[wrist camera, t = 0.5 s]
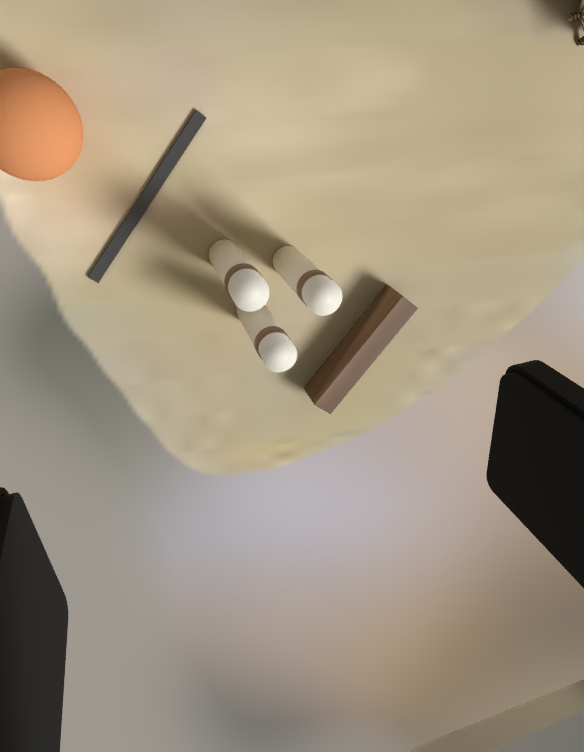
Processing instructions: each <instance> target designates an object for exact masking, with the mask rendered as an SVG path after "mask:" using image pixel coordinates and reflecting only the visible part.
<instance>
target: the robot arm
mask: <svg viewBox="0 0 584 752" xmlns="http://www.w3.org/2000/svg"><path fill="white" fill-rule="evenodd" d="M487 481H488V484H489V486H490V488H491V489H492V491H493V492H494V493H495V494H496V495H497V496H498V497H499V499H501V501H502V502H503V503H504V504H505V505H506V506H507V507H508V508H509V509H510V510H511V511H512V512H513V513H514V514H515V515H516V517H517V518H518V519H519V520H520V521H521V522H522V523H523V524H524V525H525V526H526V527H527V528H528V529H529V530H530V532H531V533H532V534H533V535H534V536H535V537H536V538H537V539H538V540H539V541H540V542H541V543H542V544H543V545H544V546H545V547H546V548H547V550H548V551H549V552H550V553H551V554H552V555H553V556H554V557H555V558H556V559H557V560H558V561H559V562H560V563H561V564H562V566H564V568H565V569H566V570H567V571H568V572H569V573H570V574H571V575H572V576H573V577H574V578H575V579H576V580H577V581H578V583H579V584H580V585H581V586H582V587H583V588H584V388H582V387H581V386H579V385H577V384H576V383H574V382H573V381H571V380H570V379H568V378H567V377H565V376H564V375H562V374H560V373H559V372H557V371H556V370H554V369H553V368H551V367H549V366H548V365H546V364H545V363H543V362H541V361H539V360H533V361H529V362H525V363H521V364H517V365H513V366H510V367H509V368H508V369H507V371H506V374H505V375H503V376H502V378H501V380H500V385H499V392H498V399H497V405H496V413H495V419H494V426H493V433H492V440H491V447H490V453H489V460H488V467H487ZM67 628H68V606H67V601H66V597H65V594H64V592H63V590H62V587H61V585H60V583H59V580H58V578H57V576H56V574H55V571H54V569H53V567H52V565H51V563H50V560H49V558H48V556H47V553H46V551H45V549H44V547H43V544H42V542H41V540H40V538H39V536H38V533H37V531H36V528H35V526H34V524H33V522H32V519H31V517H30V515H29V513H28V510H27V508H26V506H25V503H24V501H23V499H22V497H21V495H20V494H19V493H13V494H9V493H8V492H7V490H5V488H2V487H1V488H0V752H60V738H61V722H62V707H63V691H64V675H65V660H66V644H67ZM405 752H584V680H581V681H579V682H576V683H574V684H572V685H569V686H566V687H564V688H561V689H559V690H556V691H554V692H551V693H549V694H546V695H544V696H541V697H539V698H536V699H534V700H531V701H529V702H526V703H525V704H522V705H519V706H516V707H514V708H512V709H509V710H507V711H504V712H502V713H500V714H496V715H494V716H492V717H489V718H487V719H484V720H482V721H480V722H477V723H474V724H472V725H469V726H467V727H464V728H462V729H459V730H457V731H454V732H452V733H449V734H447V735H444V736H442V737H439V738H437V739H434V740H432V741H429V742H427V743H424V744H422V745H419V746H417V747H414V748H412V749H410V750H407V751H405Z"/></svg>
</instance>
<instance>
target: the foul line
mask: <svg viewBox="0 0 584 752" xmlns="http://www.w3.org/2000/svg"><path fill="white" fill-rule="evenodd" d="M205 119H206V117H205V116H203V115H202V114H201V113H200V112H199V111H197V110H196V111H195V112H194V114H193V115H192V117H191V119H190V120H189V122H188V123H187V125H186V126H185V128H184V129H183V131H182V132H181V134H180V136H179V137H178V139H177V140H176V142H175V143H174V145H173V146H172V148H171V149H170V151H169V152H168V154H167V156H166V157H165V159H164V160H163V162H162V163H161V165H160V166H159V168H158V169H157V171H156V173H155V174H154V176H153V177H152V179H151V180H150V182H149V183H148V185H147V186H146V188H145V190H144V191H143V193H142V194H141V196H140V197H139V199H138V200H137V202H136V203H135V205H134V206H133V208H132V210H131V211H130V213H129V214H128V216H127V217H126V219H125V220H124V222H123V223H122V225H121V227H120V228H119V230H118V231H117V233H116V234H115V236H114V237H113V239H112V240H111V242H110V243H109V245H108V247H107V248H106V250H105V251H104V253H103V254H102V256H101V257H100V259H99V260H98V262H97V264H96V265H95V267H94V268H93V270H92V271H91V273H90V274H89V276H88V278H90V279H92V280H94V281H95V282H97V283H99V281H100V280H101V278H102V277H103V275H104V273H105V272H106V270H107V269H108V267H109V266H110V264H111V263H112V261H113V260H114V258H115V257H116V255H117V254H118V252H119V251H120V249H121V248H122V246H123V244H124V243H125V241H126V240H127V238H128V237H129V235H130V234H131V232H132V231H133V229H134V228H135V226H136V225H137V223H138V222H139V220H140V219H141V217H142V215H143V214H144V212H145V211H146V209H147V208H148V206H149V205H150V203H151V202H152V200H153V199H154V197H155V196H156V194H157V193H158V191H159V190H160V188H161V187H162V185H163V183H164V182H165V180H166V179H167V177H168V176H169V174H170V173H171V171H172V170H173V168H174V167H175V165H176V164H177V162H178V161H179V159H180V158H181V156H182V154H183V153H184V151H185V150H186V148H187V147H188V145H189V144H190V142H191V141H192V139H193V138H194V136H195V135H196V133H197V132H198V130H199V129H200V127H201V125H202V124H203V122H204V121H205Z"/></svg>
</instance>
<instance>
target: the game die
mask: <svg viewBox="0 0 584 752" xmlns="http://www.w3.org/2000/svg"><path fill="white" fill-rule="evenodd" d="M578 18H579V19H580V22H581V24H582V27H583V30H584V0H580V7H579V13H576V12H574V13H571V15H570V17H569V18H568V19H567V20H568V21H571V23H572V22H573V21H576V20H577V19H578ZM578 45H584V36H583V37H582V38H581V39H579V40H578V44H577V46H578Z"/></svg>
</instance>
